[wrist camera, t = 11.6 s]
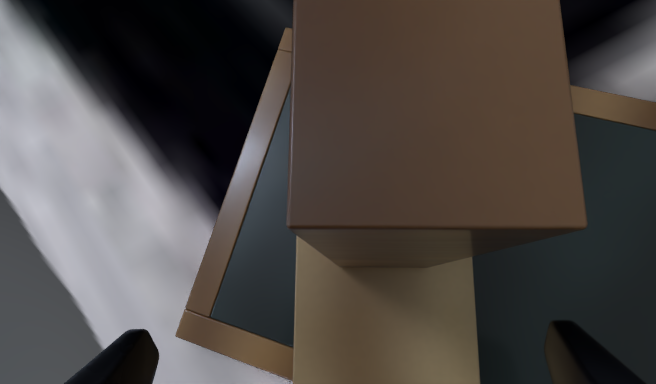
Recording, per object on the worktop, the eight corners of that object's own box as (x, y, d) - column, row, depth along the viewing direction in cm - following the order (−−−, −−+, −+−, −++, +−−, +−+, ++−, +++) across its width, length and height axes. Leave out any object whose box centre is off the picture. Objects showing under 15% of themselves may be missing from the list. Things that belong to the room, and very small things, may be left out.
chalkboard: (849, 157, 17) (883, 148, 15) (809, 567, 14) (847, 593, 13) (291, 40, 21) (285, 26, 20) (187, 333, 19) (174, 336, 18)
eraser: (445, 102, 18) (640, -317, 5) (460, 372, 16) (866, 736, 3) (309, 106, 19) (197, -273, 6) (303, 368, 16) (98, 670, 4)
